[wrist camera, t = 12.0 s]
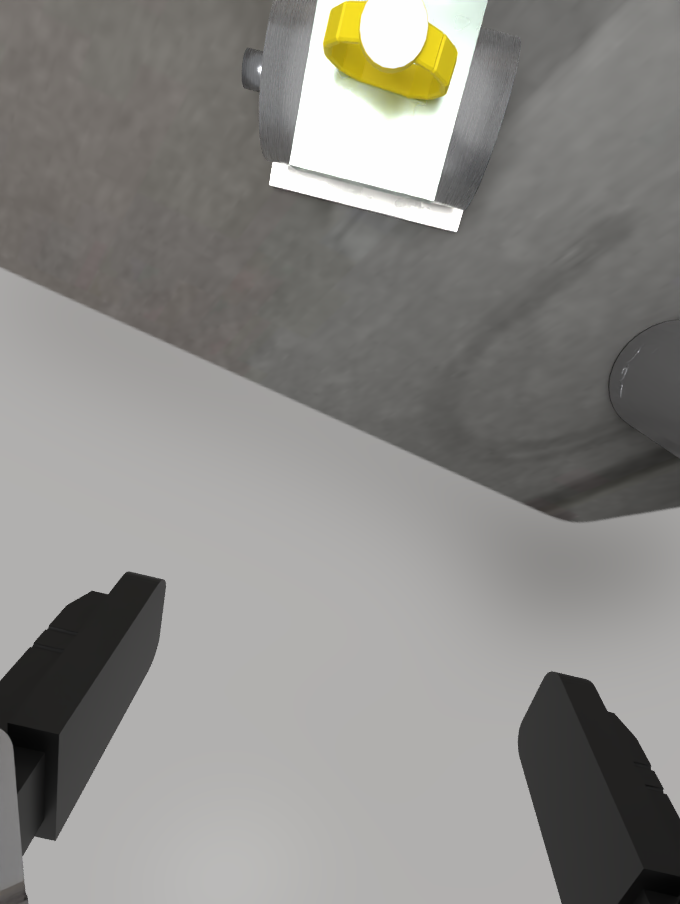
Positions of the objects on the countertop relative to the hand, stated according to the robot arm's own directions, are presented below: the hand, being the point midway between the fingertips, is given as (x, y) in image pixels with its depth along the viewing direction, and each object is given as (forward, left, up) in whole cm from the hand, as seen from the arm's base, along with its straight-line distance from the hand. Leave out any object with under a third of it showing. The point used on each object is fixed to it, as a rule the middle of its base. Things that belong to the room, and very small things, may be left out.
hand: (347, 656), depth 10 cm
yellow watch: (+3, -16, -23) cm, 28 cm away
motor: (+3, -16, -34) cm, 38 cm away
